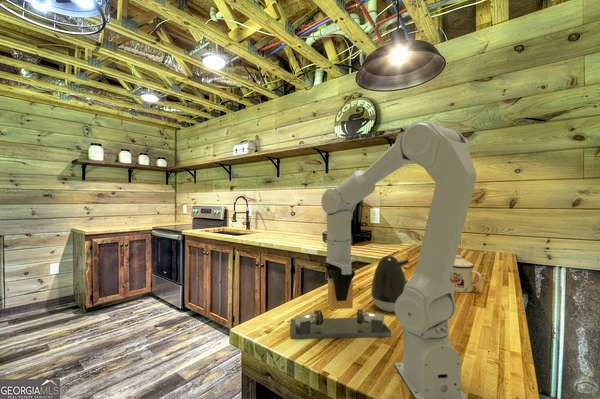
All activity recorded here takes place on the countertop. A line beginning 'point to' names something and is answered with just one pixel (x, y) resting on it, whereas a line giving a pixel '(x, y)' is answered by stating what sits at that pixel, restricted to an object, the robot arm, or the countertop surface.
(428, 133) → the robot arm
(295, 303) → the countertop surface
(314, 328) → the base plate
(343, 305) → the block
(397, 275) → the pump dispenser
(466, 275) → the teacup with lid
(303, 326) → the shaft
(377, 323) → the shaft
